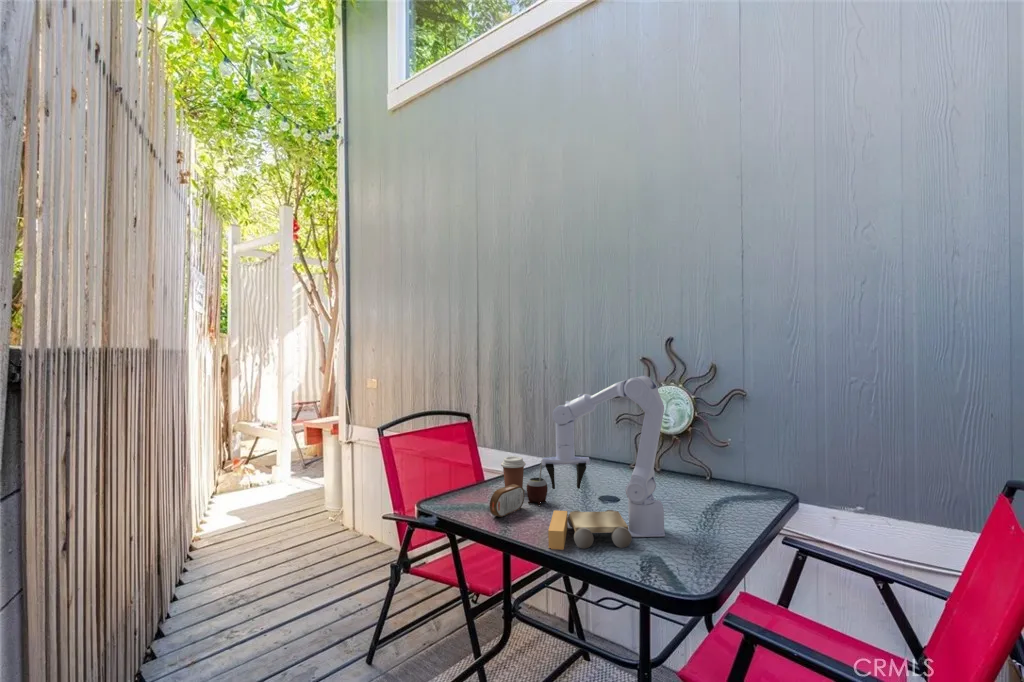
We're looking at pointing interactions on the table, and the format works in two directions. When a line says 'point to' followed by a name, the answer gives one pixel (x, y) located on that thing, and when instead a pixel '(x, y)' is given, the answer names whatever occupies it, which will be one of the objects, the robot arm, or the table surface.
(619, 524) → the trolley
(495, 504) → the tin
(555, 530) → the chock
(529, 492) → the mate gourd
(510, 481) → the coffee cup
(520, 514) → the table surface
